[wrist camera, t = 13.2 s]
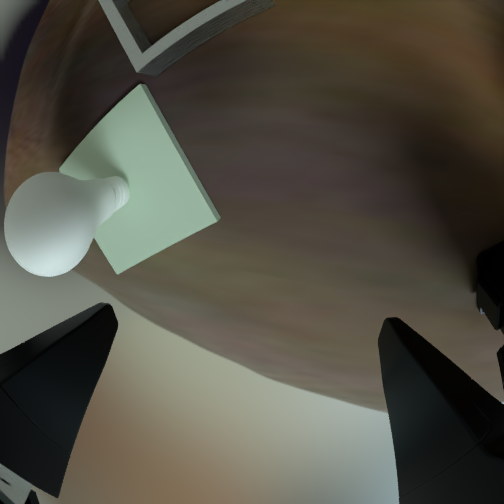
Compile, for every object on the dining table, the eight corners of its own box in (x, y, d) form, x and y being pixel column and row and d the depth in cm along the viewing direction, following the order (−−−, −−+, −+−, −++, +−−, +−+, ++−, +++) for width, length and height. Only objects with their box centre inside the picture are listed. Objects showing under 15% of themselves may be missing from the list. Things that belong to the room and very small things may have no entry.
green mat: (145, 84, 16) (140, 83, 15) (220, 217, 20) (217, 221, 19) (64, 167, 21) (58, 169, 20) (121, 270, 24) (117, 274, 23)
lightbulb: (93, 155, 19) (-18, 193, 9) (151, 147, 18) (22, 183, 8) (102, 223, 21) (8, 286, 12) (158, 226, 20) (57, 306, 10)
